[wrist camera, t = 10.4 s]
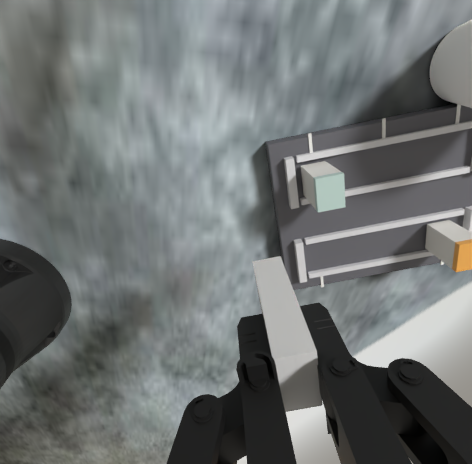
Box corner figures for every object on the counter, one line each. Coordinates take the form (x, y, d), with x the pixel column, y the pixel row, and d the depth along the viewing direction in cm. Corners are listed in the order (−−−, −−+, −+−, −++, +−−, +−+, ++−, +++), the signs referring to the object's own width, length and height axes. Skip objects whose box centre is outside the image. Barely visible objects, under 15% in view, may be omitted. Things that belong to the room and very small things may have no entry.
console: (285, 283, 39) (290, 298, 36) (264, 138, 31) (269, 143, 29) (463, 249, 38) (482, 262, 35) (485, 94, 31) (511, 94, 28)
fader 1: (303, 194, 32) (318, 212, 27) (300, 165, 30) (315, 179, 26) (327, 190, 32) (345, 207, 27) (325, 160, 30) (344, 173, 26)
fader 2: (425, 248, 35) (456, 272, 30) (426, 224, 34) (459, 245, 29) (446, 244, 35) (480, 267, 30) (449, 219, 34) (485, 240, 29)
